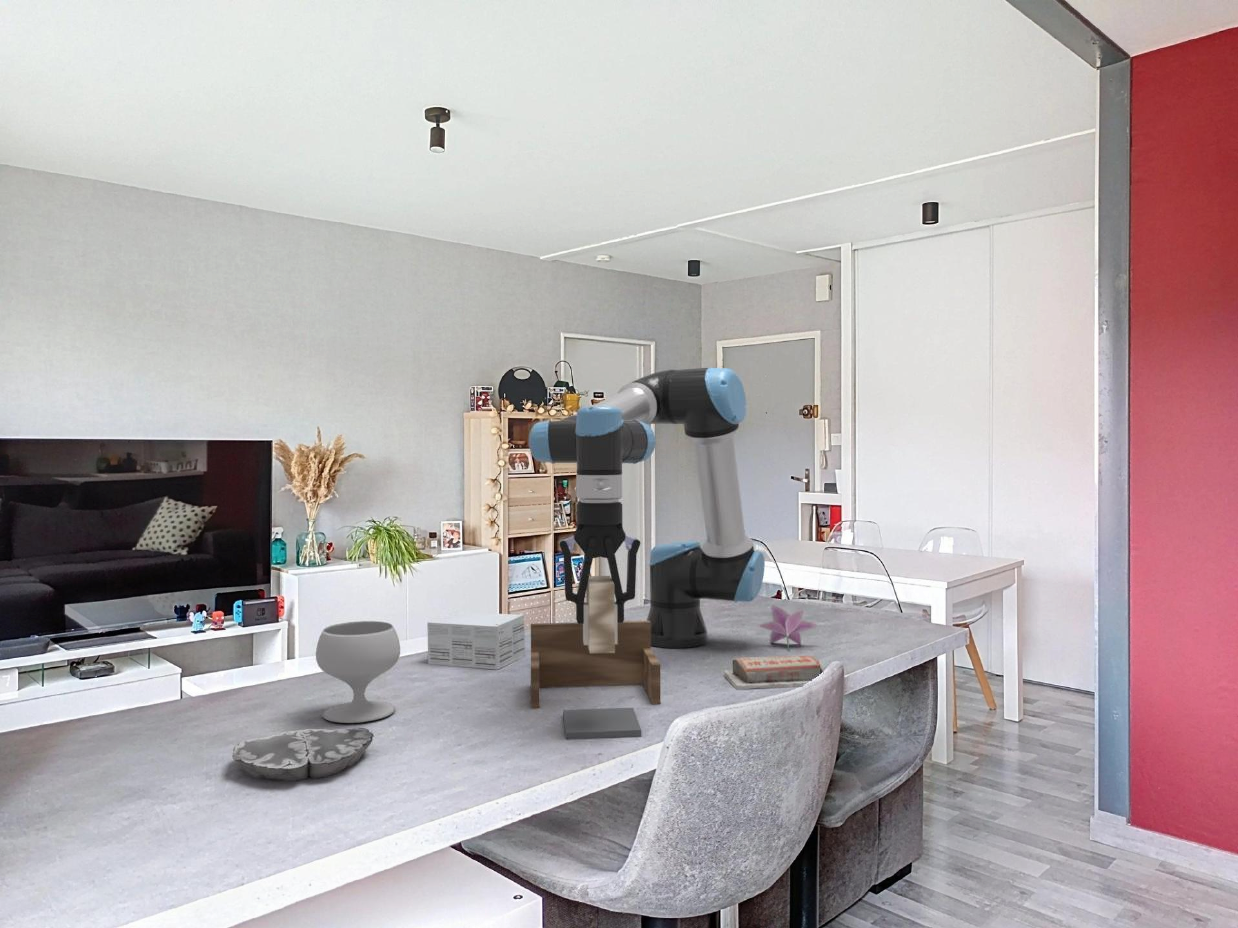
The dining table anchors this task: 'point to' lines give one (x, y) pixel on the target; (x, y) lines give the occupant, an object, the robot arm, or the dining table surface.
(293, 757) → the brain slice
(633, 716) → the charcoal mat
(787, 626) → the lily
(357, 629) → the chalice
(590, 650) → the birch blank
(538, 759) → the dining table surface
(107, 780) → the dining table surface
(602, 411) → the robot arm
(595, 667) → the walnut cubby
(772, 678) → the packaged product
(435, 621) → the supplement box
